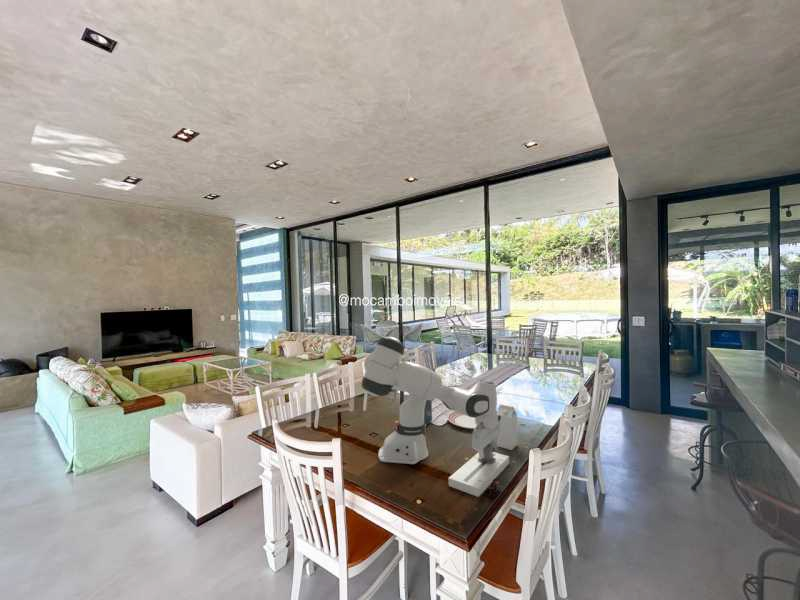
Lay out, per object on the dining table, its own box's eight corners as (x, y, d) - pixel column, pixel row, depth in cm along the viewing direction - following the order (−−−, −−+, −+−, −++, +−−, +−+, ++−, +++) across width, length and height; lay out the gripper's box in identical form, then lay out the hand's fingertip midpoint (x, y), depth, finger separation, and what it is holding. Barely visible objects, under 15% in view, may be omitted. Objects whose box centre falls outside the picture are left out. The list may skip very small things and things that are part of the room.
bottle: (425, 425, 188) (424, 371, 188) (411, 420, 194) (410, 368, 194) (435, 420, 195) (434, 368, 195) (421, 416, 202) (421, 366, 201)
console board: (478, 497, 119) (478, 488, 119) (448, 485, 126) (448, 477, 126) (509, 463, 143) (509, 456, 143) (482, 455, 150) (482, 448, 150)
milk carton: (502, 441, 165) (502, 402, 165) (517, 445, 160) (516, 405, 160) (496, 446, 159) (496, 406, 159) (511, 450, 155) (511, 409, 155)
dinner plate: (499, 434, 174) (499, 428, 174) (446, 431, 179) (446, 425, 179) (495, 416, 200) (495, 410, 200) (449, 413, 206) (449, 408, 206)
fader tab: (491, 463, 136) (491, 448, 136) (477, 459, 139) (477, 444, 139) (495, 459, 139) (495, 444, 139) (482, 455, 143) (481, 441, 143)
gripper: (482, 429, 129) (483, 465, 129) (502, 414, 145) (503, 446, 145) (467, 425, 133) (468, 460, 133) (488, 411, 149) (489, 442, 149)
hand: (486, 453), depth 139 cm, fingers open, 8 cm apart
